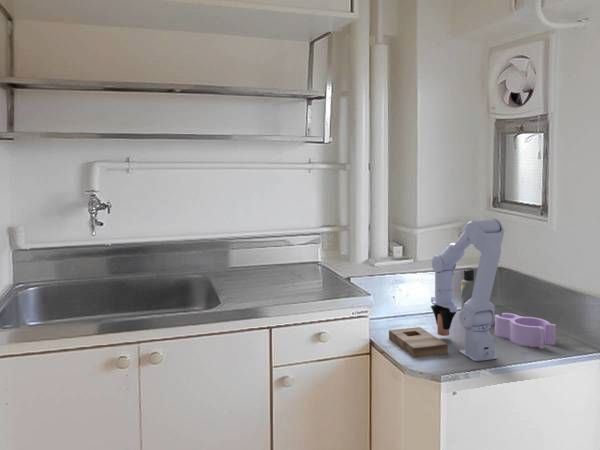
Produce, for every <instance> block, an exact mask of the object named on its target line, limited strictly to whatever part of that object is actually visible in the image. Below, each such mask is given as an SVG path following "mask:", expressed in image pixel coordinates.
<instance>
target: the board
mask: <svg viewBox="0 0 600 450" xmlns="http://www.w3.org/2000/svg"><path fill="white" fill-rule="evenodd" d="M388 339H389V340H390V341H392V342H393V343H394V344H395V345H397V346H398V347H399V348H401V349H402V350H404V351H405V352H406V353H408V354H409V355H410V356H411V357H413V358H419V357H428V356H435V355H436V356H437V355H444V354H446V355H447V354H448V353H449V351H448V350H449V344H448V343H446V342H445V341H443V340H441V339H440V338H438V337H437V336H435V335H434V334H432V333H430V331H429V332H428V331H427V330H425V328H422V327H421V326H417V327H407V328H397V329H390V330H389V329H388Z"/></svg>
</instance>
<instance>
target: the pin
mask: <svg viewBox="0 0 600 450" xmlns="http://www.w3.org/2000/svg"><path fill="white" fill-rule="evenodd" d="M437 335H438V336H445V337H446V336H450V329H446V330H444V329H443V322H442V316H441V313H439V314H438V326H437Z"/></svg>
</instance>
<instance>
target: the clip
mask: <svg viewBox="0 0 600 450" xmlns="http://www.w3.org/2000/svg"><path fill="white" fill-rule="evenodd" d="M556 328H557V324H556V323H550V321H548V320H546V319H543V318H539V317H533V316H522V315H518V314H516V313H510V312H502V313H501V316H500V314H495V320H494V335H495V336H497V337H499V338H504V339H508V340H510V341H511V342H512V343H513V344H515V345H519V346H522V347H528V346H529V347H531V348H539V349H540V350H541V349H542V350H543V349H544V348H545V347H544V346H545V345H552V346H555V345H556V334H557V331H556V330H557V329H556Z"/></svg>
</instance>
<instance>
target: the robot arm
mask: <svg viewBox="0 0 600 450" xmlns="http://www.w3.org/2000/svg"><path fill="white" fill-rule="evenodd" d="M504 233H505V229H504V227H503V224H502V223H501V222H500V220H498V219H497V218H492V219H482V220H481V219H479V220H478V219H477V220H475V219H474V220H470V221H468V222H467V224H465V225H464V231H463V233H462V234H461V235H460V236H459V238H458V239H457V241H456V242H449V243H448V244H447V247H446V248H445V249H444V250H443V251H442V252H441V253H440V254H438V255H434V256H433V257H432V259H431V268H432V270H433V272H434V296H431V297H430V302H431V304H432V305H431V306H430V308H431V310H432V312H433V315H434V317H435V322H436V327H438V314H439V313H441V316H442V322H443V329H444V330H446V329H449V330H450V328H451V325H452V322H453V319H454V317H455V315H456V314H457V312H458V310H457V309H458V306H456V305H455V304H454V302H453V276H454V274H455V273H454V272H455V270H456V269H457V268H456V267H457V263H458V262H459V261H460V260H461V259H462V258H463V256H464V255H465V250H466V249H467V248H468V247H470V245H471V244H472V246H473V247H474V248H475V249H476V250H478V251H479V252H480V257H479V262H478V265H477V271H476V275H475V278H474V280H475V284H474V288H473V293H472V297H471V298H470V299H469V300H468V301H467V302H466V303H464V306H463V309H462V310H461V309H460V312H459V322H460V324H461V326H462V327H463V328H464V349H460V350H459V353H461V354H463V355H464V356H466V357H467V358H469V359H470V360H472V361H474V362H481V361H488V360H489V361H490V360H496V359H497V358H498V357H497V356H495V355H496V354H495V351H496V349H495V348H496V347H495V346H496V345H495V344H496V343H495V342H496V341H495V339H496V338H495V337H494V336H493V335H492V333H491V332H490V329H491V328H492V325H493V324H495V315H496V313H495V310H496V307H495V304H494V303H492V302H491V301H490V300H491V296H492V291H493V288H494V284H495V278H496V276H497V275H496V274H497V269H498V266H499V262H500V261H499V260H500V256H501V253H502V242H503V239H504Z"/></svg>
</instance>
